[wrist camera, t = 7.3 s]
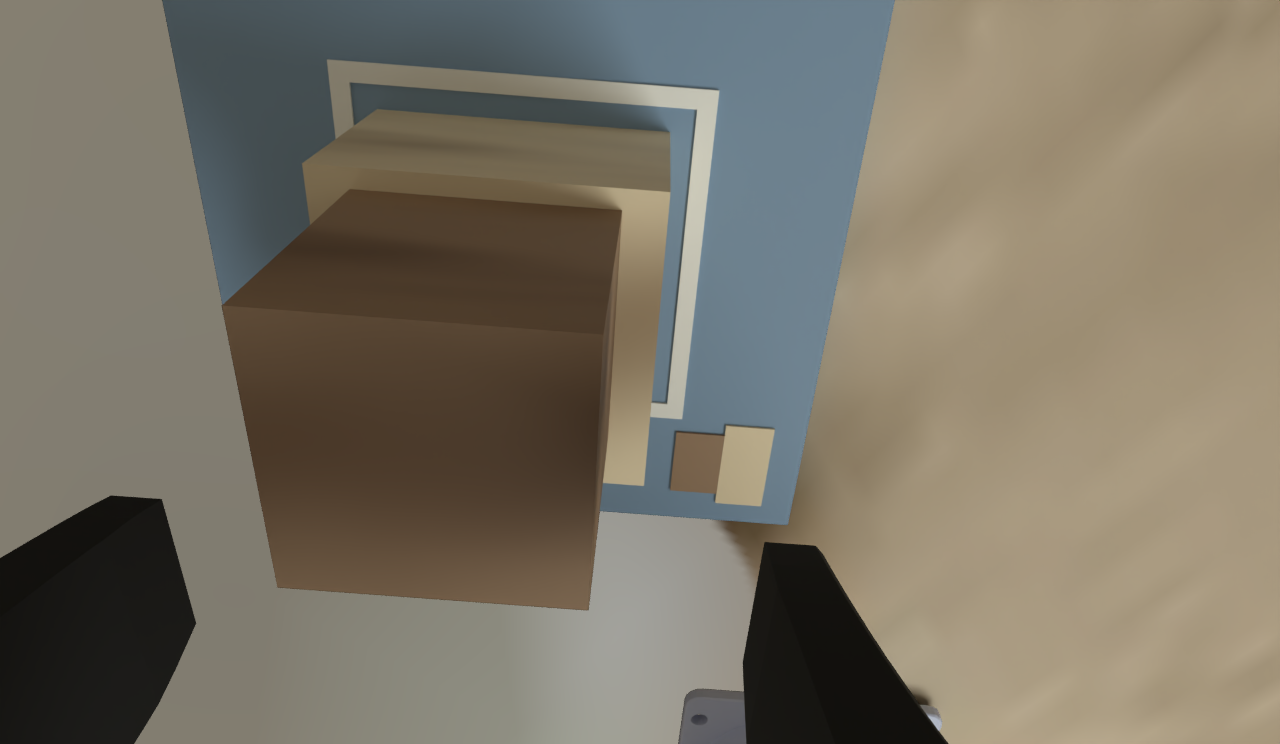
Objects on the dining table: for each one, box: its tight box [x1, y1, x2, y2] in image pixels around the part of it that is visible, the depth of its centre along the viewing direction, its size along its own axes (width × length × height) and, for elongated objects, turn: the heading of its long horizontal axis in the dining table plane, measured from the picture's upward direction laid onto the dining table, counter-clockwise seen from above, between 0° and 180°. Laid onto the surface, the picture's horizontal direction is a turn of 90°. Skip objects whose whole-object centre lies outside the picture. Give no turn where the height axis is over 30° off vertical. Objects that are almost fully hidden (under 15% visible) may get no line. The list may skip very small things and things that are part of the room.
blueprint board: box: [162, 0, 895, 525], centre depth 19 cm, size 14×14×1 cm
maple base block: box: [302, 109, 671, 486], centre depth 17 cm, size 6×6×4 cm
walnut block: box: [222, 189, 622, 610], centre depth 13 cm, size 4×4×4 cm
